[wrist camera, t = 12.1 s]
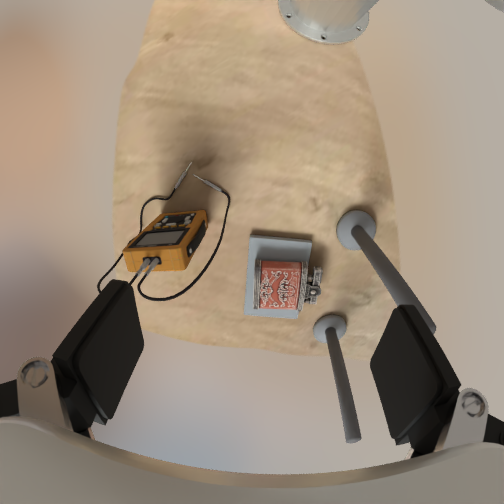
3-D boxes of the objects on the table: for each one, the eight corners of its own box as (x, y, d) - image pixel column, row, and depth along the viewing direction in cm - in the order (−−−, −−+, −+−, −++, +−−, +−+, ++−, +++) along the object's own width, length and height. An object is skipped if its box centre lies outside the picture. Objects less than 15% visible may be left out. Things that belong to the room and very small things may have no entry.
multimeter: (226, 156, 36) (184, 189, 18) (233, 225, 40) (207, 311, 22) (130, 170, 37) (38, 214, 19) (142, 232, 41) (71, 307, 23)
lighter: (253, 301, 44) (315, 303, 44) (252, 313, 41) (318, 315, 41) (255, 255, 41) (321, 258, 41) (254, 264, 38) (326, 267, 38)
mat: (250, 234, 40) (249, 237, 40) (311, 240, 40) (312, 243, 39) (244, 311, 47) (243, 314, 46) (296, 315, 46) (297, 318, 45)
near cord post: (340, 207, 38) (411, 302, 17) (377, 212, 38) (465, 302, 17) (333, 245, 40) (384, 360, 20) (368, 249, 40) (436, 355, 20)
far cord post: (316, 313, 46) (339, 431, 25) (349, 315, 46) (384, 426, 25) (310, 338, 49) (325, 450, 28) (340, 339, 49) (365, 446, 28)
